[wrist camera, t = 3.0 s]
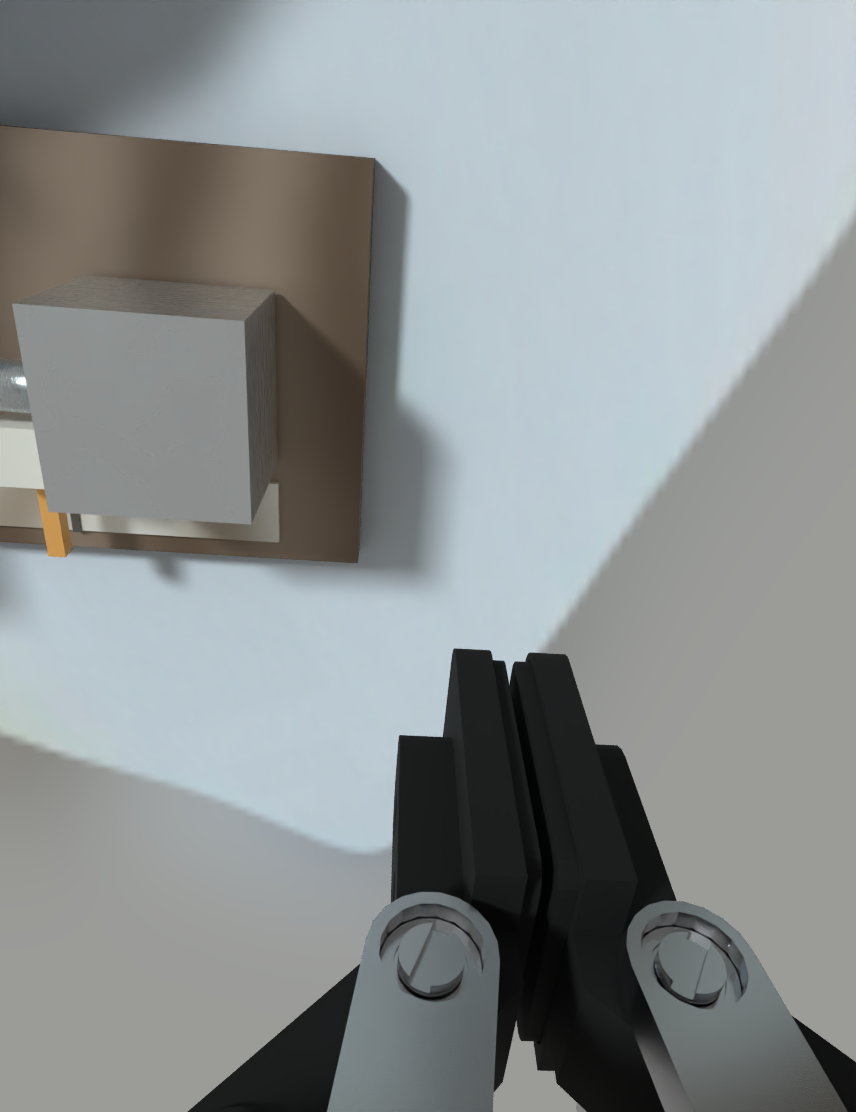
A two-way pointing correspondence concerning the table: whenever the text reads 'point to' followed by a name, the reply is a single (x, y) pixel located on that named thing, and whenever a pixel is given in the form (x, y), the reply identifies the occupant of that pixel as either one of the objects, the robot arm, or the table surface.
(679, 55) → the table surface
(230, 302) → the gauge plunger
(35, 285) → the bench
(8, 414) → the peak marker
